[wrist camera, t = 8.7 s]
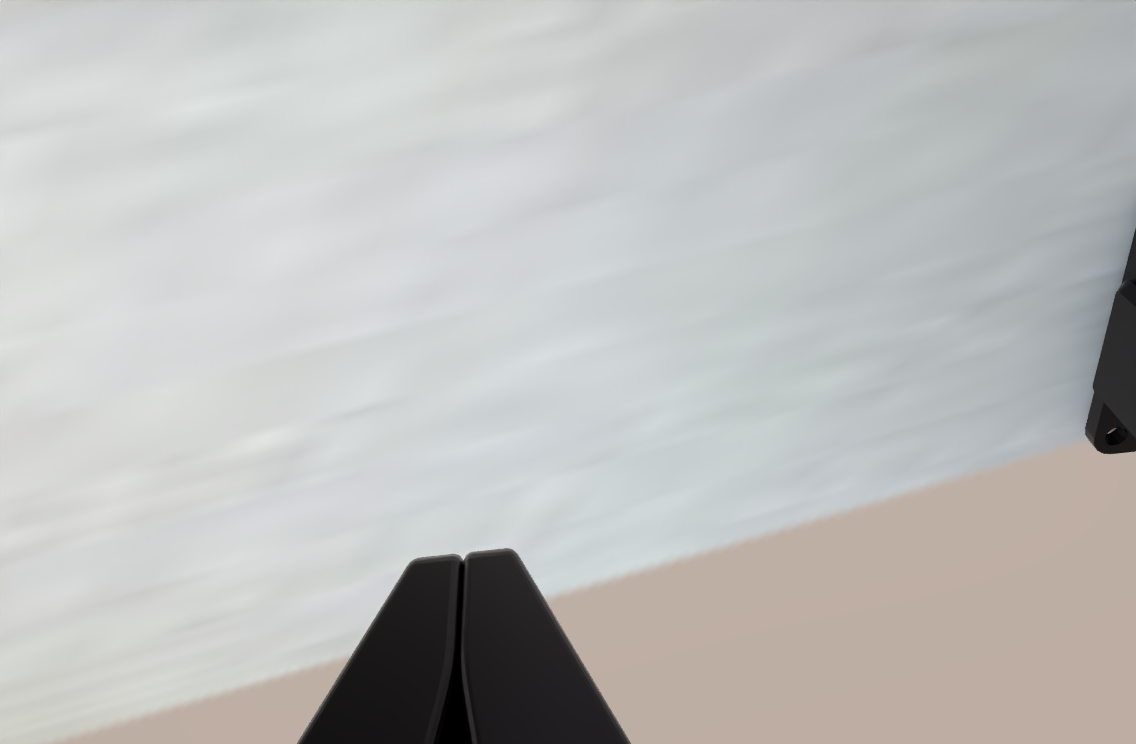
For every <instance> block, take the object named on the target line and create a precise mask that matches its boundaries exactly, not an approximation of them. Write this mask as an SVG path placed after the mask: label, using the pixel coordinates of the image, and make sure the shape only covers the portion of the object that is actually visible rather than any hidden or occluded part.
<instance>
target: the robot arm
mask: <svg viewBox="0 0 1136 744" xmlns="http://www.w3.org/2000/svg"><path fill="white" fill-rule="evenodd" d="M1093 390H1094V391H1095V392H1094V396H1093V400H1092V404H1091V407H1090V411H1089V415H1088V419H1087V423H1086V427H1085V435H1086V436H1087V438H1088V440H1089V441H1090V442H1091V443H1092V445H1093V446H1094V447H1095V448H1096V449H1097V451H1099V452H1101V453H1104V454H1115V453H1125V452H1135V451H1136V229H1135V233H1134V237H1133V241H1132V245H1131V249H1130V253H1129V257H1128V261H1127V265H1126V269H1125V273H1124V277H1123V281H1122V285H1121V286H1120V288H1119V289H1118V291H1117V292H1116V295H1115V299H1114V303H1113V307H1112V311H1111V315H1110V319H1109V323H1108V327H1107V331H1106V335H1105V339H1104V343H1103V347H1102V351H1101V355H1100V359H1099V363H1098V367H1097V371H1096V375H1095V379H1094V383H1093ZM1114 428H1116V429H1115V430H1114V431H1113V432H1111V433H1109V434H1107V433H1108V432H1109V431H1110V430H1112V429H1114ZM297 744H631V743H630V741H629V740H628V738H627V736H626V735H625V733H624V731H623V729H622V728H621V726H620V725H619V723H618V721H617V719H616V718H615V716H614V714H613V713H612V711H611V709H610V708H609V706H608V705H607V703H606V701H605V699H604V698H603V696H602V695H601V693H600V691H599V689H598V688H597V686H596V684H595V683H594V681H593V679H592V678H591V676H590V674H589V673H588V671H587V669H586V667H585V666H584V664H583V663H582V661H581V659H580V658H579V656H578V654H577V653H576V651H575V649H574V648H573V646H572V644H571V643H570V641H569V639H568V637H567V636H566V634H565V632H564V631H563V629H562V627H561V626H560V624H559V622H558V621H557V619H556V617H555V616H554V614H553V612H552V611H551V609H550V607H549V606H548V604H547V602H546V601H545V599H544V597H543V595H542V594H541V592H540V590H539V589H538V587H537V585H536V584H535V582H534V580H533V579H532V577H531V575H530V574H529V572H528V570H527V569H526V567H525V565H524V564H523V562H522V560H521V559H520V557H519V555H518V554H517V553H516V552H515V551H514V550H512V549H509V548H505V549H496V550H486V551H477V552H471V553H469V554H468V555H466V557H465V559H464V560H463V559H462V558H461V557H460V556H459V555H457V554H449V555H440V556H431V557H421V558H416V559H414V560H413V561H411V562H410V563H409V564H408V566H407V567H406V569H405V571H404V572H403V574H402V575H401V577H400V579H399V580H398V582H397V583H396V585H395V587H394V588H393V590H392V591H391V593H390V595H389V596H388V598H387V600H386V601H385V603H384V604H383V606H382V608H381V609H380V611H379V612H378V614H377V616H376V617H375V619H374V620H373V622H372V624H371V625H370V627H369V628H368V630H367V632H366V633H365V635H364V636H363V638H362V640H361V641H360V643H359V645H358V646H357V648H356V649H355V651H354V653H353V654H352V656H351V657H350V659H349V661H348V662H347V664H346V665H345V667H344V669H343V670H342V672H341V674H340V675H339V677H338V678H337V680H336V682H335V683H334V685H333V686H332V688H331V690H330V691H329V693H328V694H327V696H326V698H325V699H324V701H323V702H322V704H321V706H320V707H319V709H318V710H317V712H316V714H315V715H314V717H313V718H312V720H311V722H310V723H309V725H308V727H307V728H306V730H305V732H304V733H303V735H302V736H301V738H300V739H299V741H298V743H297Z"/></svg>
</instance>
